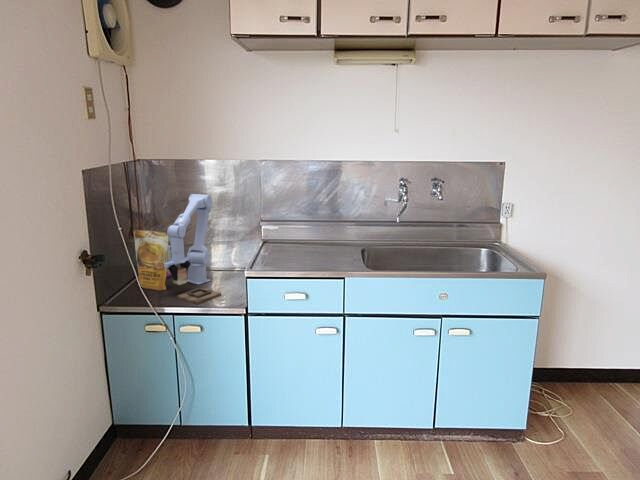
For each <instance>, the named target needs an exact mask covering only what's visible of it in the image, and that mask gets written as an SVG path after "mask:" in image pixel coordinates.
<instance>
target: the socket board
mask: <svg viewBox="0 0 640 480" xmlns="http://www.w3.org/2000/svg"><path fill="white" fill-rule="evenodd" d="M221 296H222V292H219V291H215V290H212V289H210V288H206V287H202V286H200V287H197V288H194V289H191V290H188V291H185V292H182V293H180V294H177V295H176V297H177V299H180V300H183V301H185V302H188V303H191V304H195V305H200V304H203V303H205V302H208V301H210V300H213V299H215V298H218V297H221Z"/></svg>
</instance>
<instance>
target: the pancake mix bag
mask: <svg viewBox="0 0 640 480" xmlns="http://www.w3.org/2000/svg"><path fill="white" fill-rule="evenodd" d="M132 233H133V240H134V249H135V259H136V263H137V264H136V265H137V272H138V284H139V283H140V285H141V287H142V289H147V290H154V291H167V286H166V279H167V278H166V268H165V267H164V263H166V262H167V257H168V245H169V243H170V241H169V237H168V235H167V231H154V230H147V229H145V230H144V229H134V230H132ZM169 246H170V245H169ZM141 287H140V288H141Z"/></svg>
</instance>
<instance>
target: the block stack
mask: <svg viewBox="0 0 640 480" xmlns="http://www.w3.org/2000/svg"><path fill="white" fill-rule="evenodd" d="M177 267H178V271H177V281H175V280H173V279H172V283H173V284H175V285H178V286H181V285H184V284H187V283H188V281H187V280H188V275H187V273H186V268H183V267H181V266H177Z"/></svg>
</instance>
